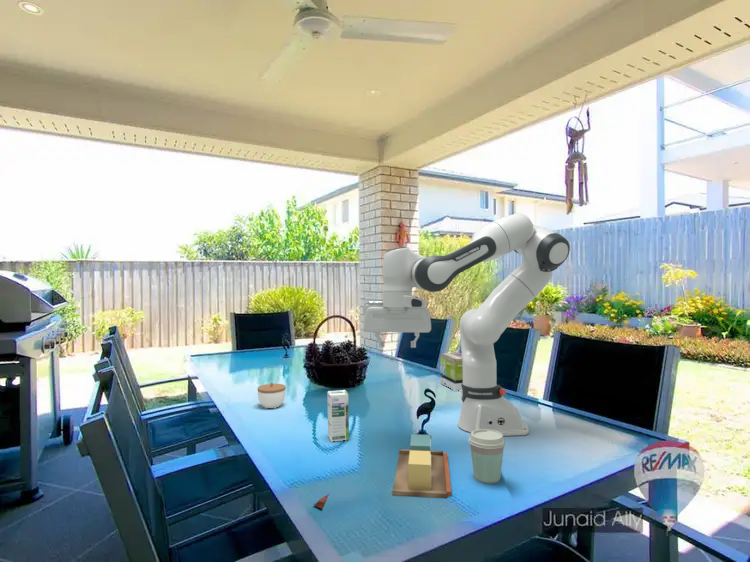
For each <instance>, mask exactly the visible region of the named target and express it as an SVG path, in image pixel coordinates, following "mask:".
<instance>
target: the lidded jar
mask: <svg viewBox="0 0 750 562" xmlns="http://www.w3.org/2000/svg"><path fill="white" fill-rule="evenodd" d="M257 396H258V397H257V398H258V402H259V403H260V405H261V406H263V408H264V407H265V408H264V409H266V408H274V409H276V408H275V407H278V408H279V406H281V405H283V402H284V401H285V397H286V385H285V384H282V383H274V382H273V381H272V382H271V381H270V383H267V384H266V383H265V384H263V385H259V386H258V387H257Z"/></svg>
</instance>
